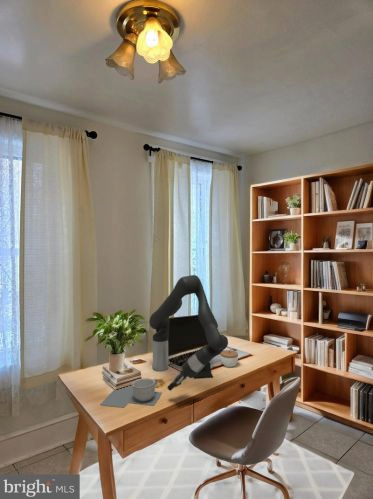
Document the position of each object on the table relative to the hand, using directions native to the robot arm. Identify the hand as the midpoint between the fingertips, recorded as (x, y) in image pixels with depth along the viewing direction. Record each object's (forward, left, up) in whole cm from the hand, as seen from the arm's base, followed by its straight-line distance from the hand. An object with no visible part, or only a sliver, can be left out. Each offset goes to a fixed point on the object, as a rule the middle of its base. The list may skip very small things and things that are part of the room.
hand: (168, 388), depth 151 cm
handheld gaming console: (-32, +11, -6) cm, 34 cm away
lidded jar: (-49, +25, -6) cm, 55 cm away
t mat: (0, -18, -6) cm, 19 cm away
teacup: (0, -11, -6) cm, 13 cm away
